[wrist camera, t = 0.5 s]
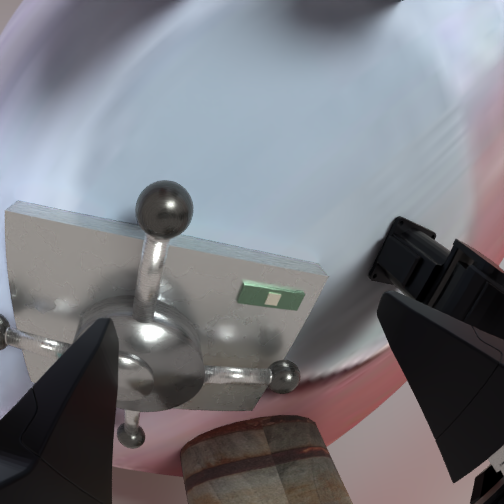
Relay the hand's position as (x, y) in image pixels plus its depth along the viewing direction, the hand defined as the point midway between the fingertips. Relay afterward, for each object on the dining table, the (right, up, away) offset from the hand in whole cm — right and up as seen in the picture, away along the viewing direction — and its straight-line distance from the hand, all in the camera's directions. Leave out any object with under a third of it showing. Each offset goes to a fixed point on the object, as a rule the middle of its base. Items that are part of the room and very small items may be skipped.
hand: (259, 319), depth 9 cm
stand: (-9, -4, +14) cm, 17 cm away
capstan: (-9, -5, +12) cm, 16 cm away
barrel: (0, -29, +30) cm, 42 cm away
